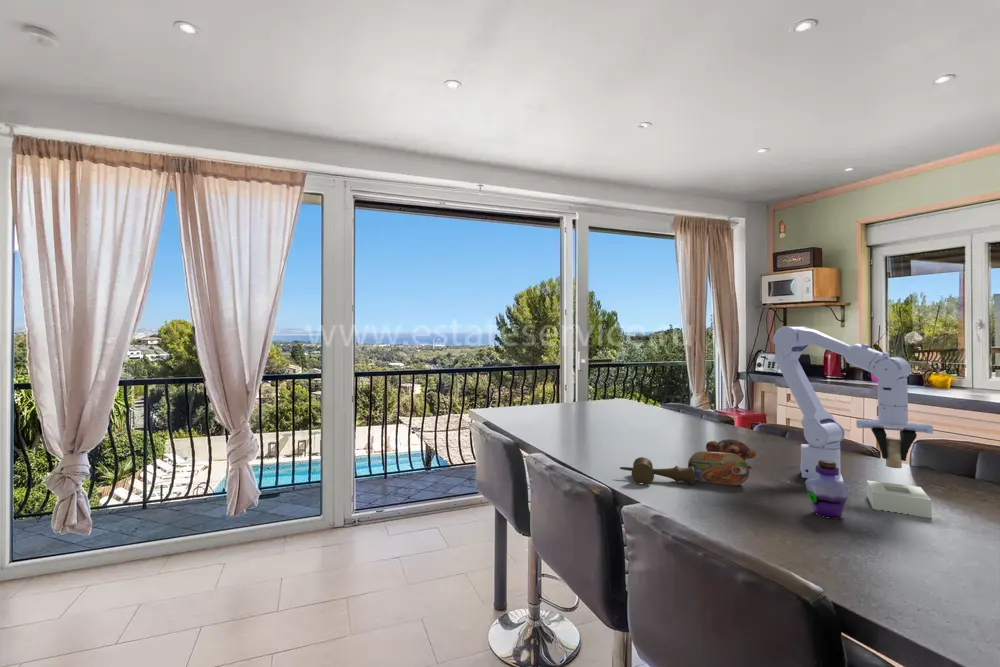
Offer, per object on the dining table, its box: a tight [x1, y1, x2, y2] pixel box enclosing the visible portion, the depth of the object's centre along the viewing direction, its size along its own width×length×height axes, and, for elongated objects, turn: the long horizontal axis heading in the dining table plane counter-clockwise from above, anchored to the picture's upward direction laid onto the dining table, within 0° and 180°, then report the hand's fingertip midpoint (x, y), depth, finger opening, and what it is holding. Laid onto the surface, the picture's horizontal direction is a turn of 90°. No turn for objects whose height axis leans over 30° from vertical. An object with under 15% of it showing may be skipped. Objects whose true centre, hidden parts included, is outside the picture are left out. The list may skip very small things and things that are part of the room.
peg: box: [885, 437, 903, 469], centre depth 115 cm, size 3×3×7 cm
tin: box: [687, 450, 750, 486], centre depth 126 cm, size 15×3×8 cm, turn 65°
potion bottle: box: [804, 460, 851, 518], centre depth 103 cm, size 9×9×12 cm
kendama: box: [619, 456, 696, 486], centre depth 128 cm, size 6×10×20 cm
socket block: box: [866, 479, 933, 519], centre depth 107 cm, size 10×10×4 cm
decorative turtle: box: [705, 439, 757, 462], centre depth 142 cm, size 10×15×8 cm, turn 96°
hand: (893, 459), depth 115 cm, fingers closed on peg, 3 cm apart
